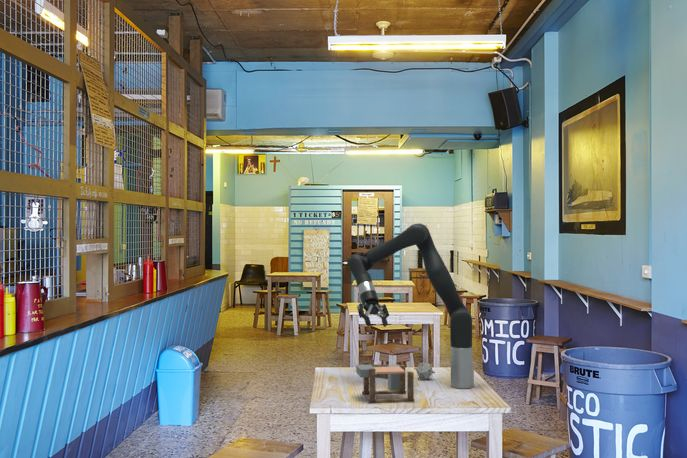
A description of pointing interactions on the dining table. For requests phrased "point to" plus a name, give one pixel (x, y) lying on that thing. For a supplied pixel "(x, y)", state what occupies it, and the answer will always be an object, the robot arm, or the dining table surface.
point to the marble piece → (384, 376)
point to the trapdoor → (377, 370)
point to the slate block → (393, 380)
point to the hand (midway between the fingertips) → (377, 325)
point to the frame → (370, 390)
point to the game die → (424, 370)
